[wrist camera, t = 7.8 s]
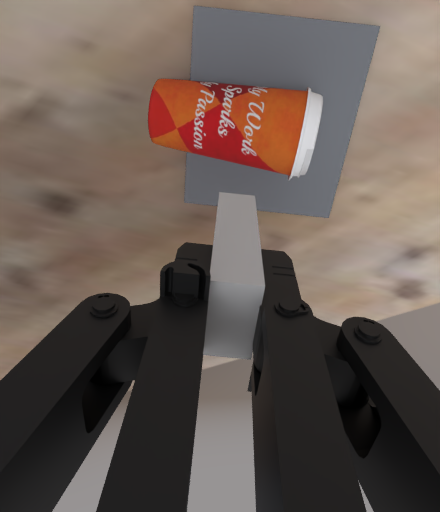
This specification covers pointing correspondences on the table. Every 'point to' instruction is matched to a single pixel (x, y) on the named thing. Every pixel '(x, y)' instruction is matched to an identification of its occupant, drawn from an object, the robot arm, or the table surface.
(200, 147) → the paper cup
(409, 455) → the robot arm
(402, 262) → the table surface
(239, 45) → the rubber mat
